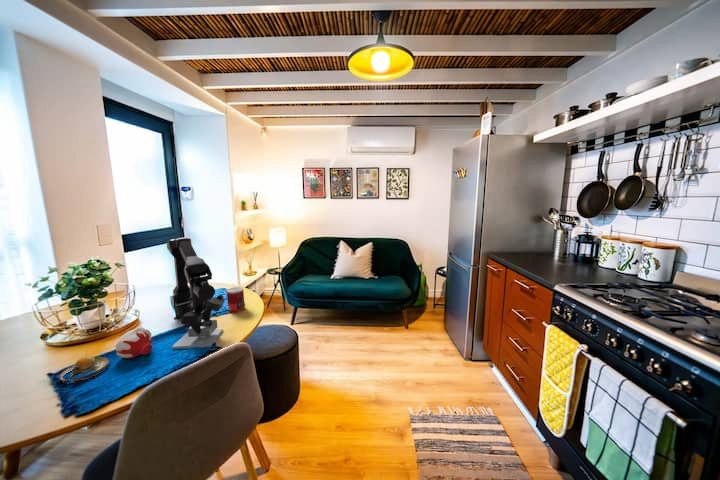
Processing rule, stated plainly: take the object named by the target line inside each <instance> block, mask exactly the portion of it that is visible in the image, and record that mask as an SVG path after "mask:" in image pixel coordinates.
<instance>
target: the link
mask: <svg viewBox="0 0 720 480" xmlns="http://www.w3.org/2000/svg"><path fill="white" fill-rule="evenodd" d="M217 328H218V319H210V320H202V321H201V330H200V334H197V333H196V332H195V331H194V330H193V329H192V328H191V326H189V327H188V328H187V332H188V335H189V337H198V336H210V335H211V334H212V333H213V332H214V331H215V329H217Z"/></svg>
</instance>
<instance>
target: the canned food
mask: <svg viewBox="0 0 720 480" xmlns="http://www.w3.org/2000/svg"><path fill="white" fill-rule="evenodd" d="M244 292H245V291H244V287H240V286H236V287H235V286H234V287H230V288H228V289H227V290H226V301H227V309H228V312H230V313H233V314H234V313H240V312H242V311H244V310H245V306H246V305H245V293H244Z"/></svg>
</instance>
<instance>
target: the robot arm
mask: <svg viewBox="0 0 720 480" xmlns="http://www.w3.org/2000/svg"><path fill="white" fill-rule="evenodd" d="M166 249H167V250H168V252H169V253H170V254H171V256H172V257H173V261H174V273H175V274H174V275H175V283H176V286H175V287H174V289H173V290H172V296H171V300H170V304H171V306H172V307H173V308H174V312H175V316H174V317H173V319H174V320H180V324H181V325H184V324H185V325H186V324H187V325H188V326H189V327H190V326H191V328H192V329H193V330H194V331H195V332H196V333H197V334H200V330H201V321H202V320H211V316H212V312H213V311H214V312H220V310H221V309H222V308H223V306H224V304H225V302H226V301H225V298H224V295H223V294H219V295H218V296H217V297H216V296H215V293H216V289H215V287H213V285H212V284H209V280H213V278H212V276H213V272H212V271H211V268H210V266H209V264H207V263H206V262H205V260H204V258H201V257H198V255H197V253H196V250H195V248H194V247H193V243H192V239H191V238H190V237H188V236H187V237H178V238H173V239H169V240H168V241H167V242H166Z"/></svg>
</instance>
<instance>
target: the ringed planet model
mask: <svg viewBox="0 0 720 480" xmlns="http://www.w3.org/2000/svg"><path fill="white" fill-rule="evenodd" d="M97 356H98V355H94V356H91V355H84V356H82V357H80V358H78V359H77V360H76V362H75V364H73V365H70V367H68V368H66V369H65V370H63V371H62V372H61V373H60V374H59V375H58V377H57V379H58V381H59V380H60V381H62V382H63V383H64V382H72V381H78V382H80V381H79V380H82V379H85V378H88V377H91V378H93V377H92V376H94V375H96V374H97V373H99V372H101V371H103V370H104V369H106V368H107V367H108V363H109V362H110V359H109V357H106V356H105V357H104V356H103V357H102V356H98V357H97ZM108 368H109V367H108ZM73 369H74V371H72V370H73ZM94 369H95V371H94ZM91 370H93V371H92V372H93V373H91V374H89V375H86V376H83V377H80V378H76V379H71V380H70V379H69V380H65V379H63V376H64V375H65V374H66V373H68V372H70V371H72V373H73V374H72V373H70V374H72V375H71V376H70V377H74V376H75V375H78V374H85V373H87V372H89V371H91ZM106 370H107V369H106Z"/></svg>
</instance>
